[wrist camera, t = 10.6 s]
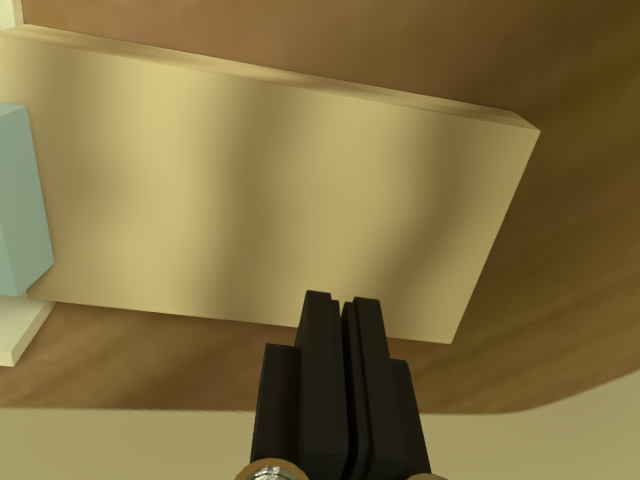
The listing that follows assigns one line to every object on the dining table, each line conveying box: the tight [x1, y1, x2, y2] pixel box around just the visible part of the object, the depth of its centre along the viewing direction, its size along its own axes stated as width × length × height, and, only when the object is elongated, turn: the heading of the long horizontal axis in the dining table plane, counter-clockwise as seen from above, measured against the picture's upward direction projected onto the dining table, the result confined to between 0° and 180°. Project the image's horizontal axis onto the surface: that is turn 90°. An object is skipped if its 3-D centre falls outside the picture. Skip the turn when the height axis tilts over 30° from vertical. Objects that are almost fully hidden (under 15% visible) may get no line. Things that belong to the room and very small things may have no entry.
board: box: [0, 24, 541, 344], centre depth 19 cm, size 18×10×2 cm, turn 80°
